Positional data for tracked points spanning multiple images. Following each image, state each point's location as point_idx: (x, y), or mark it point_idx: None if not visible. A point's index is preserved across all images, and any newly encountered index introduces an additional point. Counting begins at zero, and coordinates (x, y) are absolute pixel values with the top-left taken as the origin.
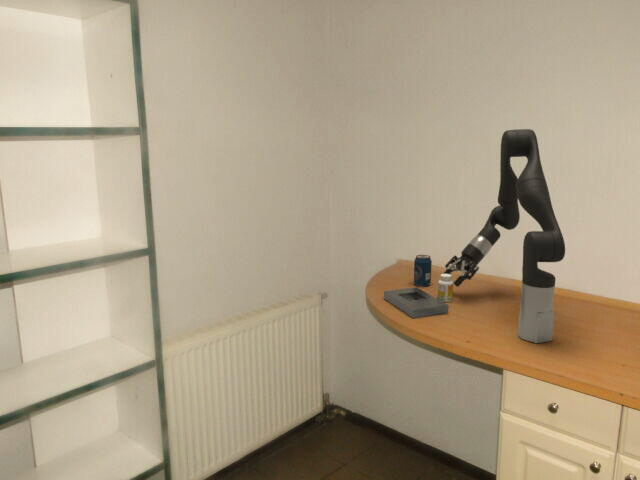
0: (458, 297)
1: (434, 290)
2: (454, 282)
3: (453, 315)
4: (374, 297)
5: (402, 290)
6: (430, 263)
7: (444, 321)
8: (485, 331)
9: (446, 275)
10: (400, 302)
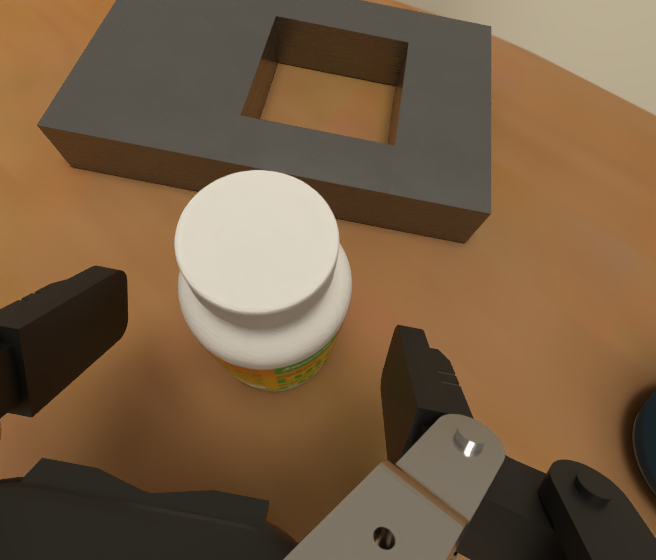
0: (258, 489)
1: (510, 436)
2: (107, 269)
3: (25, 168)
4: (507, 52)
5: (462, 101)
6: None
7: (11, 76)
8: None
9: (240, 225)
10: None
